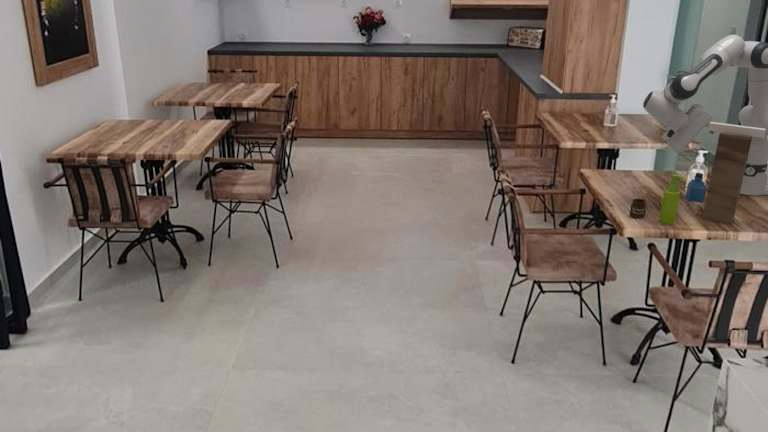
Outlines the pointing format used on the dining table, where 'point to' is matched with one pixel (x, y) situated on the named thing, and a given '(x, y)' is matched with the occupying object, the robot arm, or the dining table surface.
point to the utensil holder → (638, 207)
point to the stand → (726, 177)
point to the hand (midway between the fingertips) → (705, 142)
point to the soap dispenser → (670, 201)
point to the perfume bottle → (696, 189)
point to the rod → (737, 129)
